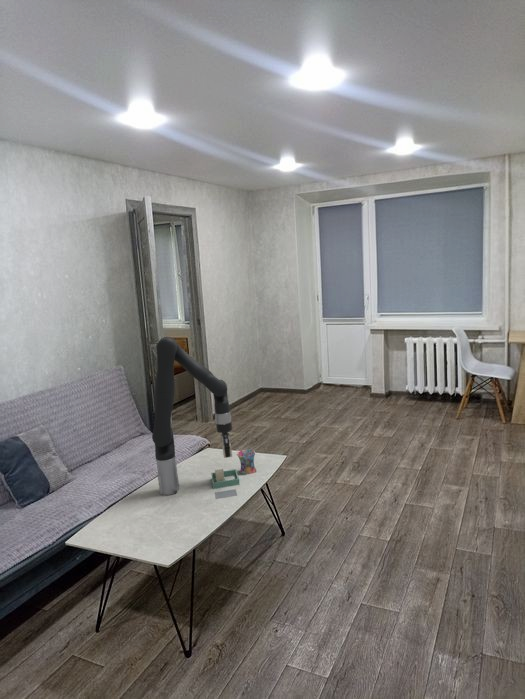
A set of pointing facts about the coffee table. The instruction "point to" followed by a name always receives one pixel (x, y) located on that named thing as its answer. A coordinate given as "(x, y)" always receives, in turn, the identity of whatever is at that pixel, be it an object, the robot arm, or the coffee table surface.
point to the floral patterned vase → (247, 461)
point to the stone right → (224, 451)
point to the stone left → (219, 475)
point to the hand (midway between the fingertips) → (227, 455)
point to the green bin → (227, 482)
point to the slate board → (225, 494)
